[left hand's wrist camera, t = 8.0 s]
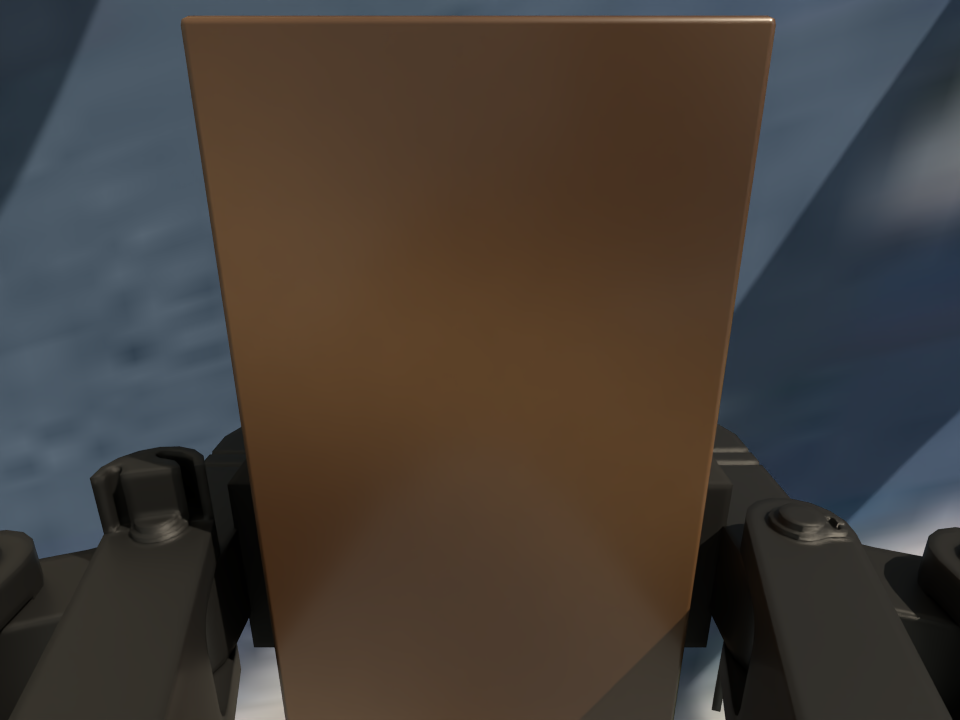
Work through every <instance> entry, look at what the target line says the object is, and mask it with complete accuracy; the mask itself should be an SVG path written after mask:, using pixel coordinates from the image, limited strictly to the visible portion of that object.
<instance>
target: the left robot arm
mask: <svg viewBox="0 0 960 720" xmlns="http://www.w3.org/2000/svg"><path fill="white" fill-rule="evenodd" d="M90 481H91V485H92V489H93V493H94V496H95V500H96V504H97V508H98V512H99V516H100V520H101V524H102V528H103V532H104V535H103V537H102V539H101V541H100V543H99V545H98V547H97V548H93V549H89V550H84V551H79V552H74V553H69V554H63V555H58V556H53V557H48V558H42V559H39V558H38V555H37V552H36V549H35V545H34V542H33V539H32V538H31V537H29V536H28V535H26V534H25V533H24V532H18V531H10V530H2V531H0V720H235V712H236V705H237V697H238V689H239V681H240V673H241V666H240V659H239V653H238V647H237V642H238V639H239V637H240V635H241V633H242V631H243V629H244V627H245V625H246V623H247V621H248V619H250V625H251V631H252V637H253V643H254V647H275V646H274V639H273V632H272V626H271V619H270V612H269V606H268V599H267V593H266V586H265V579H264V573H263V566H262V559H261V553H260V546H259V540H258V533H257V526H256V520H255V513H254V506H253V500H252V493H251V487H250V480H249V473H248V467H247V460H246V453H245V447H244V440H243V434H242V427H240V428H239V429H237V430H235V431H234V432H232V433H230V434H228V435H227V436H225V437H224V438H223V439H222V441H221V442H220V443H219V444H218V445H217V447H216V448H215V449H214V450H213V451H212V455H209V456H208V457H207V458H206V460H205V461H204V456H203V455H202V454H200V453H199V452H197V451H196V450H195V449H190V448H185V447H180V446H179V447H158V448H152V449H147V450H142V451H137V452H134V453H132V454H129V455H126V456H123V457H120V458H117V459H116V460H114V461H112V462H110V463H108V464H106V465H105V466H103V467H101V468H100V469H99V470H98V471H97V472H96V473H95V474H94V475H93V476H92V477H91V478H90ZM711 616H712V617H713V619H714V621H715V623H716V625H717V627H718V629H719V631H720V633H721V636H722V638H723V640H724V642H723V647H722V653H721V658H720V664H719V670H718V675H717V681H716V687H715V692H714V698H713V705H712V710H715V711H719V712H720V710H721V704H722V699H723V703H724V711H725V719H726V720H960V528H957V527H953V528H945V529H938V530H937V531H935V532H934V533H932V534H931V535H930V536H929V537H928V540H927V544H926V547H925V550H924V553H923V557H922V556H917V555H912V554H906V553H901V552H896V551H891V550H885V549H880V548H875V547H871V546H867V545H862V544H861V542H860V540H859V538H858V536H857V534H856V533H855V532H854V530H853V529H852V528H851V527H850V526H849V525H848V523H847V522H846V521H844V520H843V519H841V518H840V517H838V516H837V515H835V514H834V513H832V512H831V511H829V510H826V509H824V508H821V507H819V506H816V505H814V504H811V503H808V502H804V501H799V500H794V499H790V497H789V496H788V495H787V494H786V493H785V492H784V490H783V489H782V488H781V487H780V486H779V485H778V483H777V482H776V481H775V480H774V479H773V478H772V476H771V475H770V474H769V473H768V472H767V471H766V469H765V468H764V467H763V466H762V465H759V461H758V460H757V459H756V458H755V457H754V455H753V454H752V453H751V452H748V448H747V447H746V446H745V445H744V444H743V443H742V441H741V440H740V439H739V438H738V437H737V435H736V434H734V433H732V432H730V431H729V430H727V429H725V428H724V427H722V426H720V425H718V424H717V427H716V434H715V441H714V448H713V455H712V461H711V468H710V475H709V482H708V489H707V495H706V502H705V509H704V516H703V523H702V529H701V536H700V543H699V550H698V557H697V563H696V570H695V577H694V584H693V591H692V597H691V604H690V611H689V618H688V625H687V631H686V638H685V645H684V647H706V646H707V640H708V634H709V628H710V622H711Z"/></svg>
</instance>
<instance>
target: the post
mask: <svg viewBox="0 0 960 720" xmlns="http://www.w3.org/2000/svg"><path fill="white" fill-rule="evenodd" d="M775 26H776V24H775V19H774V18H772V17H769V16H187V17H185V18H183V19H182V20H181V29H182V36H183V43H184V49H185V56H186V63H187V69H188V76H189V82H190V89H191V96H192V102H193V109H194V116H195V122H196V129H197V135H198V142H199V149H200V155H201V162H202V169H203V175H204V182H205V188H206V195H207V202H208V208H209V215H210V222H211V228H212V235H213V241H214V248H215V255H216V261H217V268H218V275H219V281H220V288H221V294H222V301H223V308H224V314H225V321H226V328H227V334H228V341H229V347H230V354H231V361H232V367H233V374H234V381H235V387H236V394H237V400H238V407H239V414H240V420H241V427H242V434H243V440H244V447H245V453H246V460H247V467H248V473H249V480H250V487H251V493H252V500H253V506H254V513H255V520H256V526H257V533H258V540H259V546H260V553H261V559H262V566H263V573H264V579H265V586H266V593H267V599H268V606H269V612H270V619H271V626H272V632H273V639H274V646H275V652H276V659H277V665H278V672H279V679H280V685H281V692H282V699H283V705H284V712H285V718H286V720H674V713H675V706H676V699H677V693H678V686H679V679H680V672H681V665H682V659H683V652H684V645H685V638H686V631H687V625H688V618H689V611H690V604H691V597H692V591H693V584H694V577H695V570H696V563H697V557H698V550H699V543H700V536H701V529H702V523H703V516H704V509H705V502H706V495H707V489H708V482H709V475H710V468H711V461H712V455H713V448H714V441H715V434H716V427H717V421H718V414H719V407H720V400H721V393H722V387H723V380H724V373H725V366H726V359H727V353H728V346H729V339H730V332H731V325H732V319H733V312H734V305H735V298H736V291H737V285H738V278H739V271H740V264H741V257H742V251H743V244H744V237H745V230H746V223H747V217H748V210H749V203H750V196H751V189H752V183H753V176H754V169H755V162H756V155H757V149H758V142H759V135H760V128H761V121H762V115H763V108H764V101H765V94H766V87H767V81H768V74H769V67H770V60H771V53H772V47H773V40H774V33H775Z"/></svg>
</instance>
